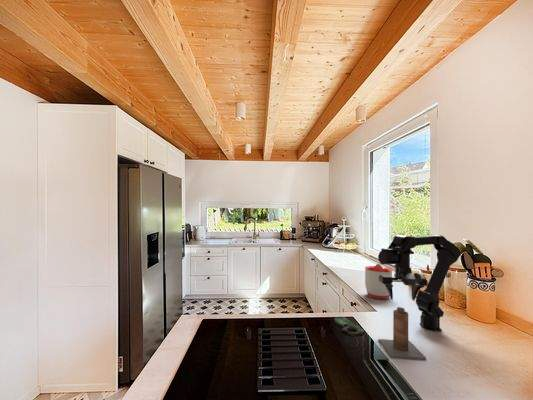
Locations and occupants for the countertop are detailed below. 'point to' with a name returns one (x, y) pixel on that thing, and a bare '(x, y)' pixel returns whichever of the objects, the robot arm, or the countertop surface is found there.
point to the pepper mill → (400, 329)
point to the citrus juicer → (376, 281)
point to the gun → (348, 326)
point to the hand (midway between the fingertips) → (402, 299)
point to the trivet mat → (394, 353)
